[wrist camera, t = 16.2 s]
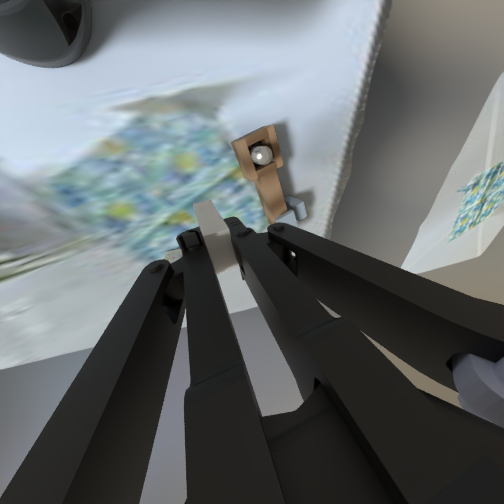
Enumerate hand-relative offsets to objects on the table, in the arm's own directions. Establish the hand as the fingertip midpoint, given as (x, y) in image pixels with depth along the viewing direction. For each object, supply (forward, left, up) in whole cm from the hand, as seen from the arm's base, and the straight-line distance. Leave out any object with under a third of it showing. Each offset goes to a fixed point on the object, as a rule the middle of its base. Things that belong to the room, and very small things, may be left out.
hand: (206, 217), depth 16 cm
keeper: (+13, +19, -24) cm, 33 cm away
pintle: (-2, +13, -24) cm, 27 cm away
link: (+4, +15, -24) cm, 29 cm away
